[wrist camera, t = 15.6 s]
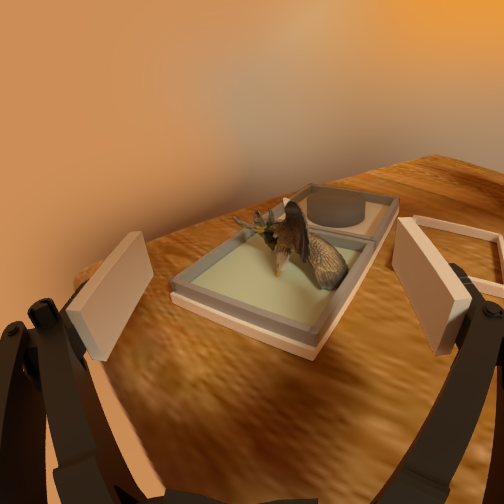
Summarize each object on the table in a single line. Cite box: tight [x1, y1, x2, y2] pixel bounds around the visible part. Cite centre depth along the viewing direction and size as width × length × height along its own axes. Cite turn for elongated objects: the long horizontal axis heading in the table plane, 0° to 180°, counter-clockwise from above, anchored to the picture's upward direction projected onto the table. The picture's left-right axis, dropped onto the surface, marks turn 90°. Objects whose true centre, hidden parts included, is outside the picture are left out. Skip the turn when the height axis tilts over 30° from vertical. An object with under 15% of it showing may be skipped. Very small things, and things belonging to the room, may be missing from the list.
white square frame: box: [394, 215, 504, 298], centre depth 28 cm, size 12×12×1 cm
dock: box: [170, 184, 400, 361], centre depth 32 cm, size 27×13×3 cm, turn 146°
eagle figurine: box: [232, 197, 349, 290], centre depth 26 cm, size 8×7×9 cm
